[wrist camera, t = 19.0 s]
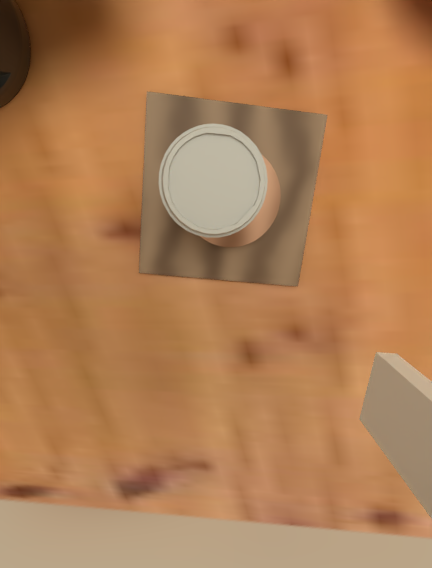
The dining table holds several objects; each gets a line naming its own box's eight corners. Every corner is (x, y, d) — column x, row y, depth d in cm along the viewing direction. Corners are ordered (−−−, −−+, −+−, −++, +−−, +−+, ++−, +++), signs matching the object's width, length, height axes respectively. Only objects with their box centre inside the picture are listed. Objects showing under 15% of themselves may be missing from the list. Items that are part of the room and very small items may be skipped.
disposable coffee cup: (182, 236, 41) (177, 252, 29) (157, 156, 38) (141, 139, 26) (257, 213, 40) (281, 221, 29) (237, 132, 38) (255, 105, 26)
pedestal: (140, 271, 45) (135, 278, 42) (148, 94, 40) (142, 83, 36) (295, 284, 47) (304, 292, 43) (324, 116, 42) (337, 108, 38)
